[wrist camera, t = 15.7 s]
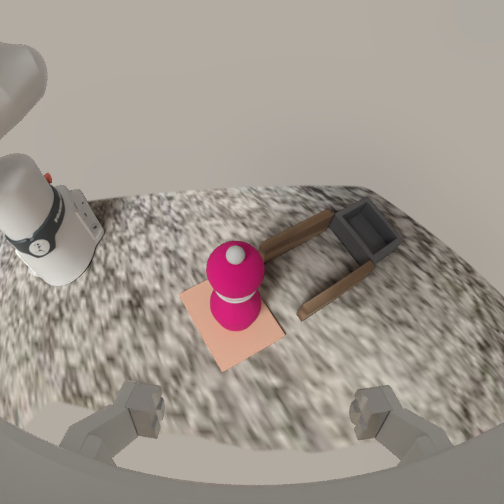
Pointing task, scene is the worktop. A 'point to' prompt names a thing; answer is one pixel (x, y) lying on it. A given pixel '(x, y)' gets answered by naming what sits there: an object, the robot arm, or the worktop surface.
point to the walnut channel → (300, 235)
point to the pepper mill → (235, 284)
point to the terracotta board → (225, 341)
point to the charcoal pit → (365, 232)
